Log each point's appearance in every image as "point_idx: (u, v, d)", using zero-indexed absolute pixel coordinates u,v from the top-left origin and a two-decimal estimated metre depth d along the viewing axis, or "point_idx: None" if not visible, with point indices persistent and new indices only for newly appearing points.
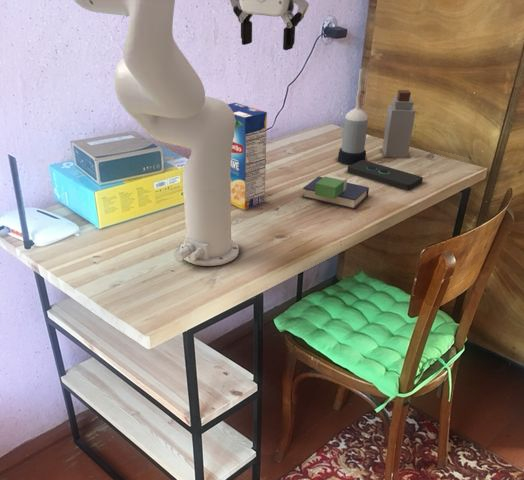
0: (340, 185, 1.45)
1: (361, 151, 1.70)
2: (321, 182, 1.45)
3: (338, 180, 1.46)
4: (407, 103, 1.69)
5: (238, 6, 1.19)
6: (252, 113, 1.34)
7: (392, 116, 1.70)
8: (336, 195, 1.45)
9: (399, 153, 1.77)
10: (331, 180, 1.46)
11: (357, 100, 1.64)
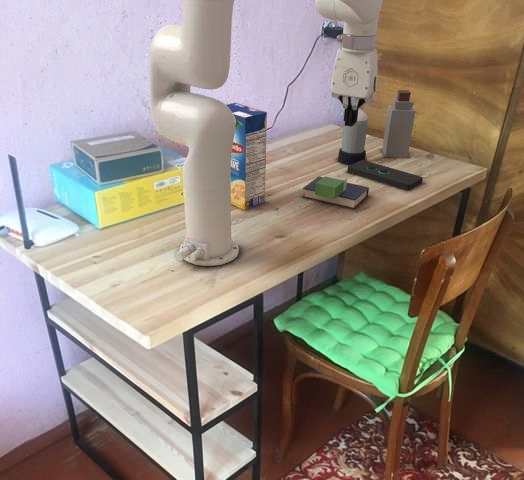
0: (340, 185, 1.45)
1: (361, 151, 1.70)
2: (321, 182, 1.45)
3: (338, 180, 1.46)
4: (407, 103, 1.69)
5: (341, 94, 1.42)
6: (252, 113, 1.34)
7: (392, 116, 1.70)
8: (336, 195, 1.45)
9: (399, 153, 1.77)
10: (331, 180, 1.46)
11: None
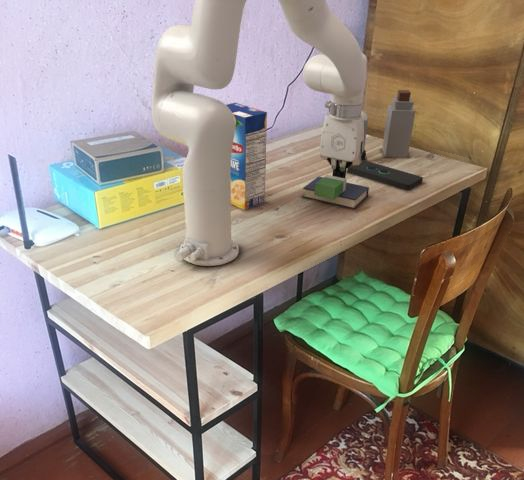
0: (339, 185, 1.45)
1: None
2: (321, 182, 1.45)
3: (338, 180, 1.46)
4: (407, 103, 1.69)
5: None
6: (252, 113, 1.34)
7: (392, 116, 1.70)
8: (335, 195, 1.44)
9: (399, 153, 1.77)
10: (330, 180, 1.46)
11: None
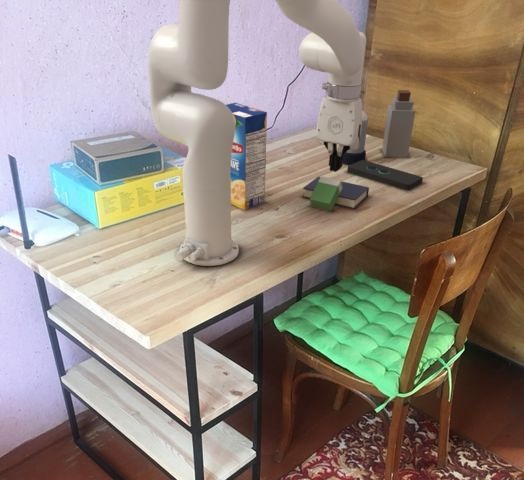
0: (334, 194, 1.43)
1: (361, 151, 1.70)
2: (315, 195, 1.44)
3: (332, 187, 1.44)
4: (407, 103, 1.69)
5: None
6: (252, 113, 1.34)
7: (392, 116, 1.70)
8: (332, 206, 1.44)
9: (399, 153, 1.77)
10: (325, 189, 1.44)
11: None
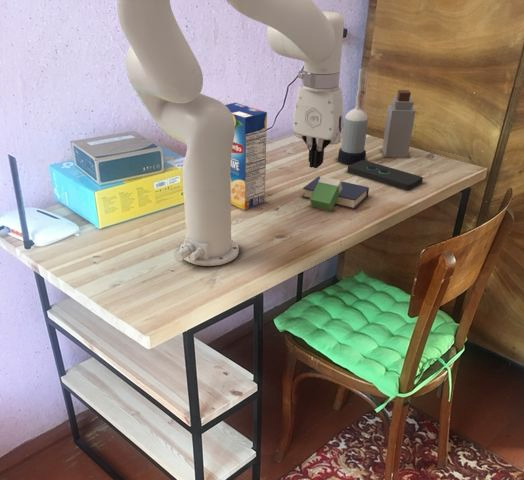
0: (334, 194, 1.43)
1: (361, 151, 1.70)
2: (315, 195, 1.44)
3: (332, 187, 1.44)
4: (407, 103, 1.69)
5: None
6: (252, 113, 1.34)
7: (392, 116, 1.70)
8: (332, 206, 1.44)
9: (399, 153, 1.77)
10: (325, 189, 1.44)
11: (357, 100, 1.64)
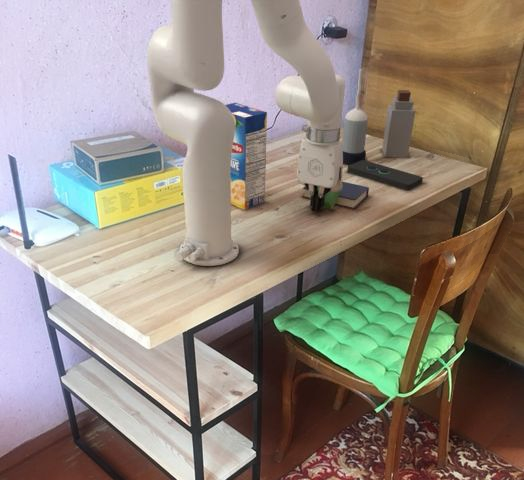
0: (335, 194, 1.43)
1: (361, 151, 1.70)
2: None
3: None
4: (407, 103, 1.69)
5: None
6: (252, 113, 1.34)
7: (392, 116, 1.70)
8: (333, 205, 1.45)
9: (399, 153, 1.77)
10: None
11: (357, 100, 1.64)
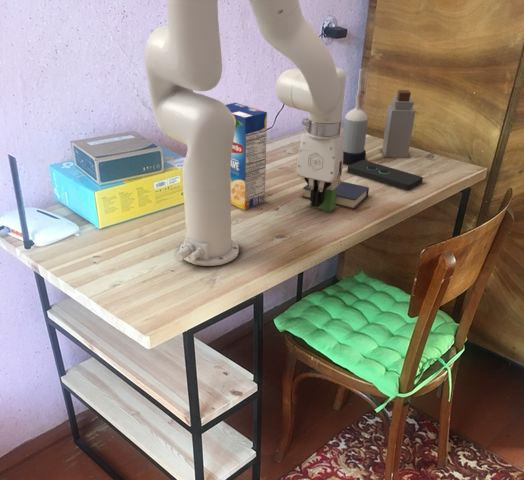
0: (332, 199, 1.43)
1: (361, 151, 1.70)
2: None
3: (327, 192, 1.42)
4: (407, 103, 1.69)
5: None
6: (252, 113, 1.34)
7: (392, 116, 1.70)
8: (334, 204, 1.46)
9: (399, 153, 1.77)
10: None
11: (357, 100, 1.64)
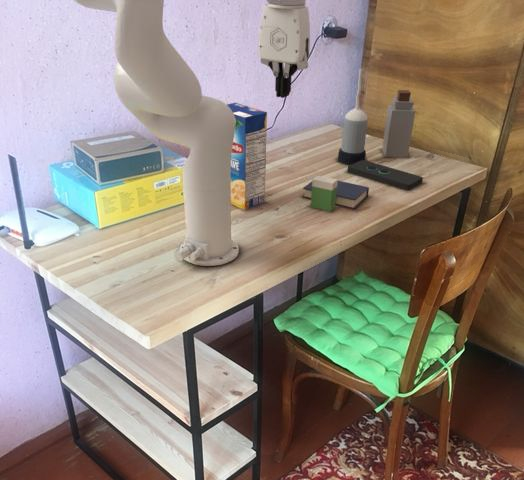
0: (332, 199, 1.43)
1: (361, 151, 1.70)
2: (314, 202, 1.45)
3: (327, 192, 1.42)
4: (407, 103, 1.69)
5: (271, 60, 1.24)
6: (252, 113, 1.34)
7: (392, 116, 1.70)
8: (334, 204, 1.46)
9: (399, 153, 1.77)
10: (321, 194, 1.43)
11: (357, 100, 1.64)
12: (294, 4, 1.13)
